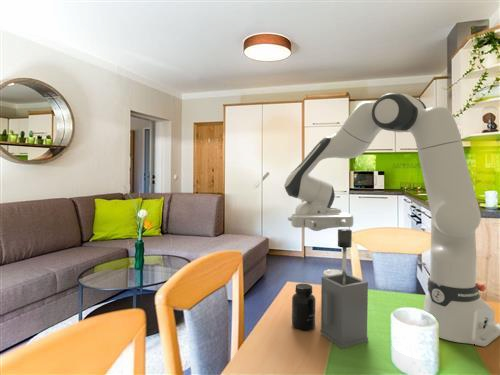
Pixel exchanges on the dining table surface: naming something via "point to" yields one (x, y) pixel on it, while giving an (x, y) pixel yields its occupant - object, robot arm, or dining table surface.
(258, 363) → the dining table surface
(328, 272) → the white cup
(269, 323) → the dining table surface
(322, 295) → the gray open square box
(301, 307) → the supplement bottle
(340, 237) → the dark cylinder rod
